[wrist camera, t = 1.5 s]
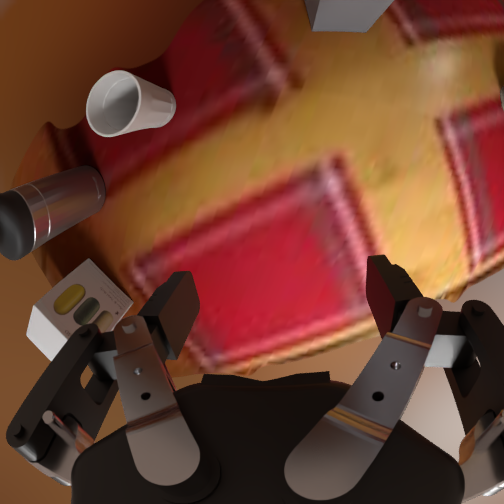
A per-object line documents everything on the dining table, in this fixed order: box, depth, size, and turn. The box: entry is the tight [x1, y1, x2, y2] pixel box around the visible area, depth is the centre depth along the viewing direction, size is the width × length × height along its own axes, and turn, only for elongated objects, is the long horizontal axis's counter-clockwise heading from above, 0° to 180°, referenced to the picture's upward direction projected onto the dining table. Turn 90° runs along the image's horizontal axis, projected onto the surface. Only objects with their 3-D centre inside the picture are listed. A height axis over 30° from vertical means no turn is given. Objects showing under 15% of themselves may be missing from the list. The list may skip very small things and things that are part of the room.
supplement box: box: [26, 258, 133, 361], centre depth 43 cm, size 13×13×18 cm
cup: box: [86, 70, 176, 137], centre depth 29 cm, size 8×8×12 cm
